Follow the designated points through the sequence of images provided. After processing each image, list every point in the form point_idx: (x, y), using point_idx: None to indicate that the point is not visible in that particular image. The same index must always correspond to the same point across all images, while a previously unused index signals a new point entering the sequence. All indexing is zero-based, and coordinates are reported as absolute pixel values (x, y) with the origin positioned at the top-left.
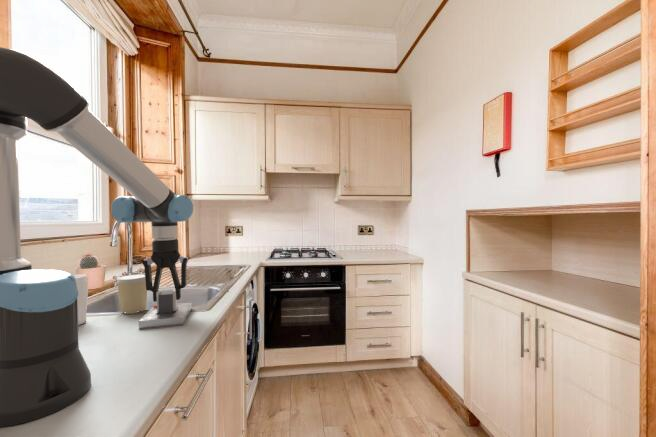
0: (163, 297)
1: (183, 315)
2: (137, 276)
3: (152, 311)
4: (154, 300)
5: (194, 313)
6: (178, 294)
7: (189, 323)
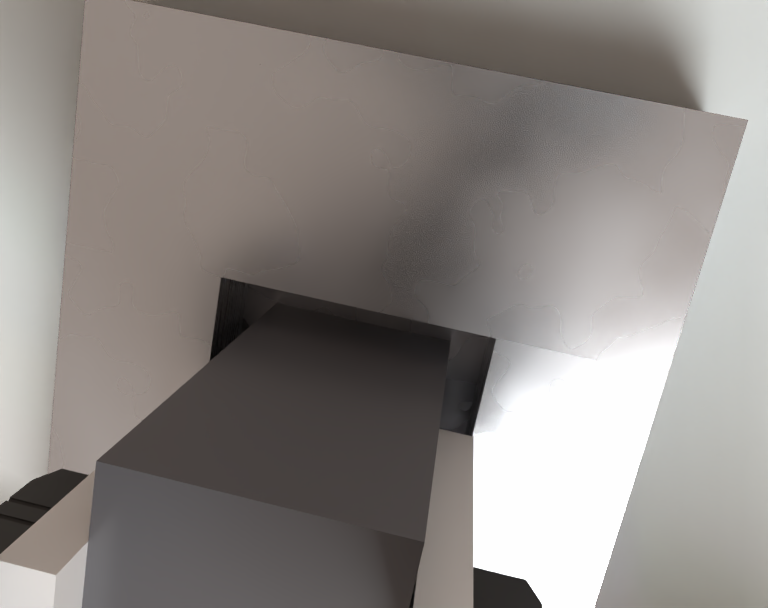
0: (317, 474)
1: (80, 81)
2: None
3: (541, 548)
4: (516, 590)
5: (37, 437)
6: (8, 529)
7: (63, 31)
